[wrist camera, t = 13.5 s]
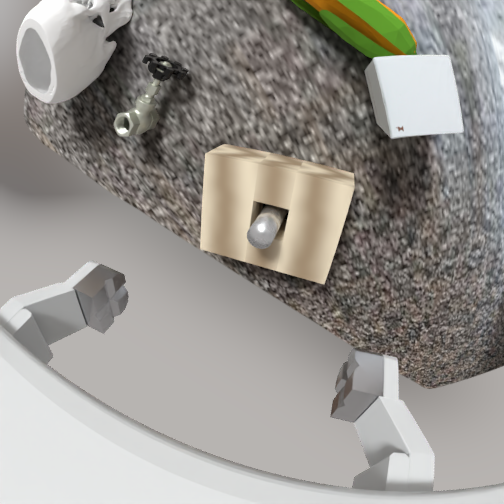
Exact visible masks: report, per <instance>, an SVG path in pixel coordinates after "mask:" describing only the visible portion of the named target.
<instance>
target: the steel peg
mask: <svg viewBox="0 0 504 504" xmlns="http://www.w3.org/2000/svg"><path fill="white" fill-rule="evenodd" d="M287 212H288V209H285V208H281V207H277V206H273V205H269V204H266V206H265V207H264V208H263V210H262V211H261V213H260V214H259V216H258V217H257V218H256V220H255V221H254V223H253V224H252V226H251V227H250V228H249V230H248V232H247V239H248V241H249V243H250V244H251V245H252V246H254V247H256V248H259V249H265V248H267V247H269V246H270V245H271V243H272V241H273V239H274V238H275V236H276V234H277V232H278V230H279V228H280V226H281V224H282V222H283V220H284V218H285V216H286V214H287Z"/></svg>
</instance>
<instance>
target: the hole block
mask: <svg viewBox="0 0 504 504" xmlns="http://www.w3.org/2000/svg"><path fill="white" fill-rule="evenodd" d="M353 192H354V173H350V172H347V171H343V170H339V169H336V168H332V167H328V166H324V165H320V164H316V163H312V162H308V161H304V160H300V159H296V158H292V157H287V156H283V155H278V154H273V153H269V152H264V151H259V150H254V149H249V148H243V147H238V146H232V145H227V144H223V145H221V146H219V147H217V148H215V149H213V150H211V151H210V152H208V153H206V154H205V166H204V182H203V199H202V219H201V244H200V249H202V250H206V251H209V252H212V253H216V254H219V255H223V256H226V257H230V258H233V259H236V260H240V261H243V262H247V263H250V264H254V265H257V266H261V267H264V268H268V269H271V270H275V271H278V272H282V273H285V274H289V275H292V276H296V277H299V278H303V279H306V280H310V281H313V282H317V283H320V284H325V281H326V278H327V275H328V272H329V269H330V266H331V263H332V260H333V257H334V254H335V251H336V248H337V245H338V242H339V239H340V235H341V232H342V229H343V226H344V222H345V219H346V216H347V212H348V209H349V206H350V202H351V199H352V195H353ZM263 203H265V204H269V205H273V206H277V207H281V208H285V209H288V210H289V213H288V218H287V220H283V222H282V224H281V226H280V228H279V230H278V232H277V234H276V236H275V238H274V239H273V241H272V243H271V245H270V246H269V247H267V248H265V249H259V248H256V247H254V246H252V245H251V244H250V243H249V241H248V239H247V232H248V230H249V228H250V227H251V226H252V224H253V223H254V221H255V220H256V218H257V217H258V216H259V214H260V213H261V211H262V208H263Z"/></svg>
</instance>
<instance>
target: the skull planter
mask: <svg viewBox="0 0 504 504" xmlns="http://www.w3.org/2000/svg"><path fill="white" fill-rule="evenodd" d="M110 8H114V11H113V12H109V11H110ZM132 12H133V11H132V9H131V0H42V1H41V2H40V3H39V4H38V5H37V6H36V7H34V8H33V9H32V10H31V11H30V12H29V13H28V14H27V15H26V17H25V19H24V21H23V23H22V24H21V27H20V29H19V32H18V36H17V42H16V44H17V46H16V54H17V62H18V68H19V71H20V75H21V78H22V80H23V82H24V84H25V86H26V88H27V90H28V91H29V92H30V93H31V94H32V95H33V96H35V97H36V98H38V99H39V100H41V101H43V102H45V103H59V102H63V101H66V100H69V99H71V98H72V97H74V96H76V95H78V94H79V93H80V92H81V91H82V90H84V89H85V88H86V87H88V86H89V85H90V84H91V83H92V82H93V81H94V80H95V79H96V78H97V77H98V76H99V75H100V74H101V73H102V71H103V70H104V68H105V65H106V63H107V61H108V60H109V59H110V57H111V55H112V53H113V52H114V50H115V48H116V42H115V41H111V42H108V41H106V37H108V36H109V35H111V34H112V33H113V32H114V31H115V30H116V29H118V28H119V27H121V26H123V25H124V24H126V23H127V22H128V21H129V20H130V19H131V16H132ZM98 15H99V16H101V18H102V21H103V24H104V28H103V27H100V26H98V25H96V24H95V23H93V22H92V21H93V19H94V18H97V16H98Z"/></svg>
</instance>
